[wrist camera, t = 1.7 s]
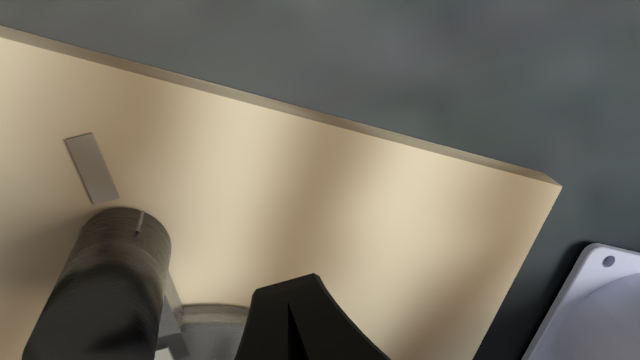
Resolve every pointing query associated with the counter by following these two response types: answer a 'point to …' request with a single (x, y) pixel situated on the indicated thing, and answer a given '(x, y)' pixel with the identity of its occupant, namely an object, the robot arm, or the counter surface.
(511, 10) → the counter surface
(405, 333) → the board
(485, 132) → the counter surface
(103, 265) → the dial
